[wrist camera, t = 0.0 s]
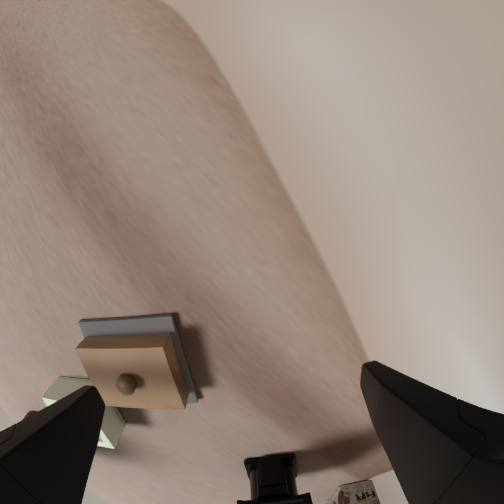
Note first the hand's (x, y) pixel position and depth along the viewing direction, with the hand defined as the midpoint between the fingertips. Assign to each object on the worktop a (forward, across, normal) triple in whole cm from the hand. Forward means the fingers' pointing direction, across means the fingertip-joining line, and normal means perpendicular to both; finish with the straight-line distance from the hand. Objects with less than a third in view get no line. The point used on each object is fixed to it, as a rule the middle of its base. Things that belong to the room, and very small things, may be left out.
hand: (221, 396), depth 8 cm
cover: (+14, +11, +8) cm, 20 cm away
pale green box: (+15, +20, +14) cm, 29 cm away
